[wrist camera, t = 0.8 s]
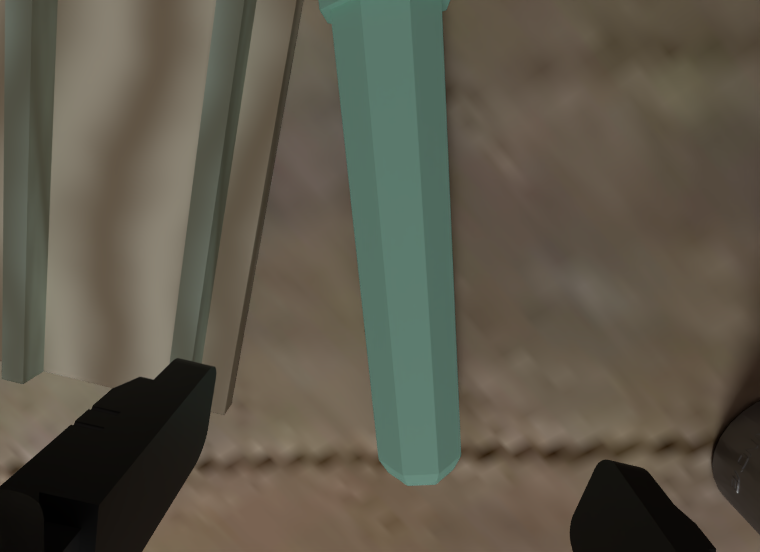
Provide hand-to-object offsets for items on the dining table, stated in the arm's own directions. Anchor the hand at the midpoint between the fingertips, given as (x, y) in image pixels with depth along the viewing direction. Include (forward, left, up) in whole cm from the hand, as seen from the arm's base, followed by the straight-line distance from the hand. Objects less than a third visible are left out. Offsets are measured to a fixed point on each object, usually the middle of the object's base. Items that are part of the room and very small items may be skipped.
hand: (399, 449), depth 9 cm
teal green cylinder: (0, 0, -17) cm, 17 cm away
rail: (+15, 0, -17) cm, 22 cm away
